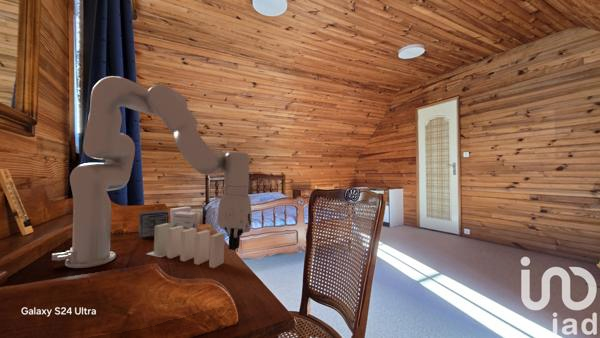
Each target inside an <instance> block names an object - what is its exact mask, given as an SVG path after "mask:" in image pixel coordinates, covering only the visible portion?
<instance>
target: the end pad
mask: <svg viewBox="0 0 600 338" xmlns="http://www.w3.org/2000/svg"><path fill="white" fill-rule="evenodd" d="M146 255H148V256H153V257H156V258H161V259H162V258H163V257H167V252H164V253H162V254H159V255H156V254H154V250H153V251H151V252H150V251H149V252H147V253H146Z"/></svg>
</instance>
